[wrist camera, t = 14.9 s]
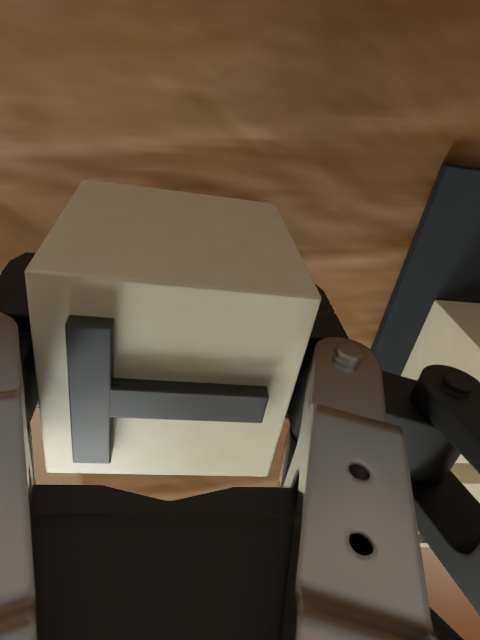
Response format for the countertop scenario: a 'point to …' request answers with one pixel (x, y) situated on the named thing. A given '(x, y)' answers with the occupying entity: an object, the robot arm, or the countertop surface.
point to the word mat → (434, 264)
